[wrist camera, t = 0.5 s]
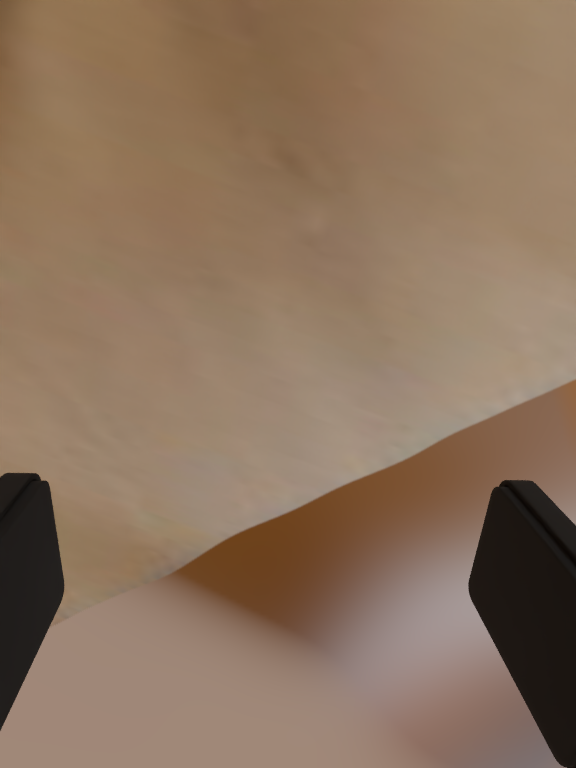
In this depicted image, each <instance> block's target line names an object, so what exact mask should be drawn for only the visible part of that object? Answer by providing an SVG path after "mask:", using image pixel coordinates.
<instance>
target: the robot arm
mask: <svg viewBox="0 0 576 768" xmlns="http://www.w3.org/2000/svg"><path fill="white" fill-rule="evenodd" d="M63 593H64V578H63V571H62V565H61V558H60V552H59V545H58V538H57V532H56V525H55V519H54V512H53V505H52V499H51V492H50V487H49V483H48V482H47V481H41V479H40V477H39V475H38V474H36V473H6V474H4V475H3V476H1V478H0V730H1V728H2V726H3V724H4V722H5V720H6V718H7V715H8V713H9V711H10V709H11V707H12V705H13V703H14V701H15V698H16V696H17V694H18V692H19V690H20V688H21V686H22V683H23V682H24V679H25V677H26V675H27V673H28V671H29V669H30V667H31V665H32V663H33V660H34V658H35V656H36V654H37V652H38V650H39V648H40V645H41V643H42V641H43V639H44V637H45V635H46V633H47V631H48V629H49V626H50V624H51V622H52V620H53V618H54V616H55V614H56V612H57V610H58V607H59V605H60V603H61V601H62V597H63ZM469 594H470V597H471V600H472V602H473V604H474V606H475V608H476V609H477V611H478V613H479V615H480V617H481V619H482V621H483V623H484V625H485V626H486V628H487V630H488V632H489V634H490V636H491V638H492V640H493V642H494V643H495V646H496V647H497V649H498V651H499V653H500V655H501V657H502V659H503V661H504V662H505V664H506V666H507V668H508V670H509V672H510V674H511V676H512V678H513V680H514V682H515V683H516V685H517V687H518V689H519V691H520V693H521V695H522V697H523V699H524V701H525V702H526V704H527V706H528V708H529V710H530V712H531V714H532V716H533V718H534V720H535V721H536V723H537V725H538V727H539V729H540V731H541V733H542V735H543V736H544V738H545V740H546V742H547V744H548V746H549V748H550V750H551V752H552V754H553V755H554V757H555V759H556V760H557V762H559V764H560V765H562V766H564V767H567V768H576V526H575V524H574V523H573V522H572V521H571V520H570V519H569V518H568V517H567V516H566V515H565V514H564V513H563V512H562V511H561V510H560V509H559V508H558V507H557V506H556V505H555V503H554V502H553V501H552V500H551V499H550V498H549V497H548V496H547V495H546V494H545V493H544V492H543V491H542V490H541V489H540V488H539V487H538V486H537V485H536V484H535V483H534V482H533V481H525V480H524V481H523V480H505V481H503V482H502V483H501V484H500V485H499V487H495V488H494V489H493V491H492V493H491V497H490V501H489V505H488V509H487V513H486V516H485V520H484V524H483V529H482V532H481V536H480V540H479V544H478V548H477V551H476V555H475V559H474V563H473V567H472V571H471V575H470V578H469Z"/></svg>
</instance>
